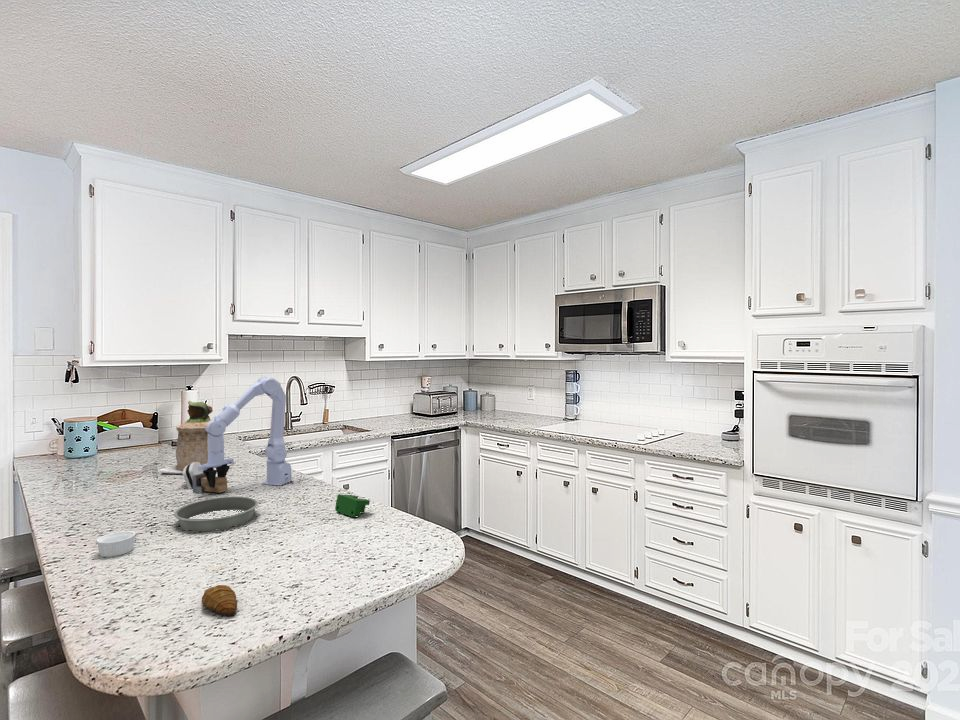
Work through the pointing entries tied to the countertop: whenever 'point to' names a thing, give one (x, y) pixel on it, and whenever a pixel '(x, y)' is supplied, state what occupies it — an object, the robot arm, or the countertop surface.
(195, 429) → the cookie jar
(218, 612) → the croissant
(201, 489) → the grey metal bench
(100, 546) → the ramekin
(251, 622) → the countertop surface
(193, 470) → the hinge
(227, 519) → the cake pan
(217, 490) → the block
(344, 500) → the green wheelie bin
